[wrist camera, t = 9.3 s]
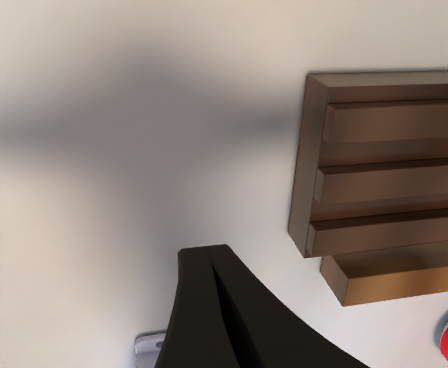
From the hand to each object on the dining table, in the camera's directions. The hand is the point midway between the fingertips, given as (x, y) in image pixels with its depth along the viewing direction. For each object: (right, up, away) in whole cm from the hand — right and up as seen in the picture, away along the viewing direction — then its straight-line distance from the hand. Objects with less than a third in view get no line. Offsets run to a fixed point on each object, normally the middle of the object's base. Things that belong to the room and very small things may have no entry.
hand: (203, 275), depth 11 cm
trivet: (+9, +4, +11) cm, 15 cm away
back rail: (+16, -1, +16) cm, 23 cm away
